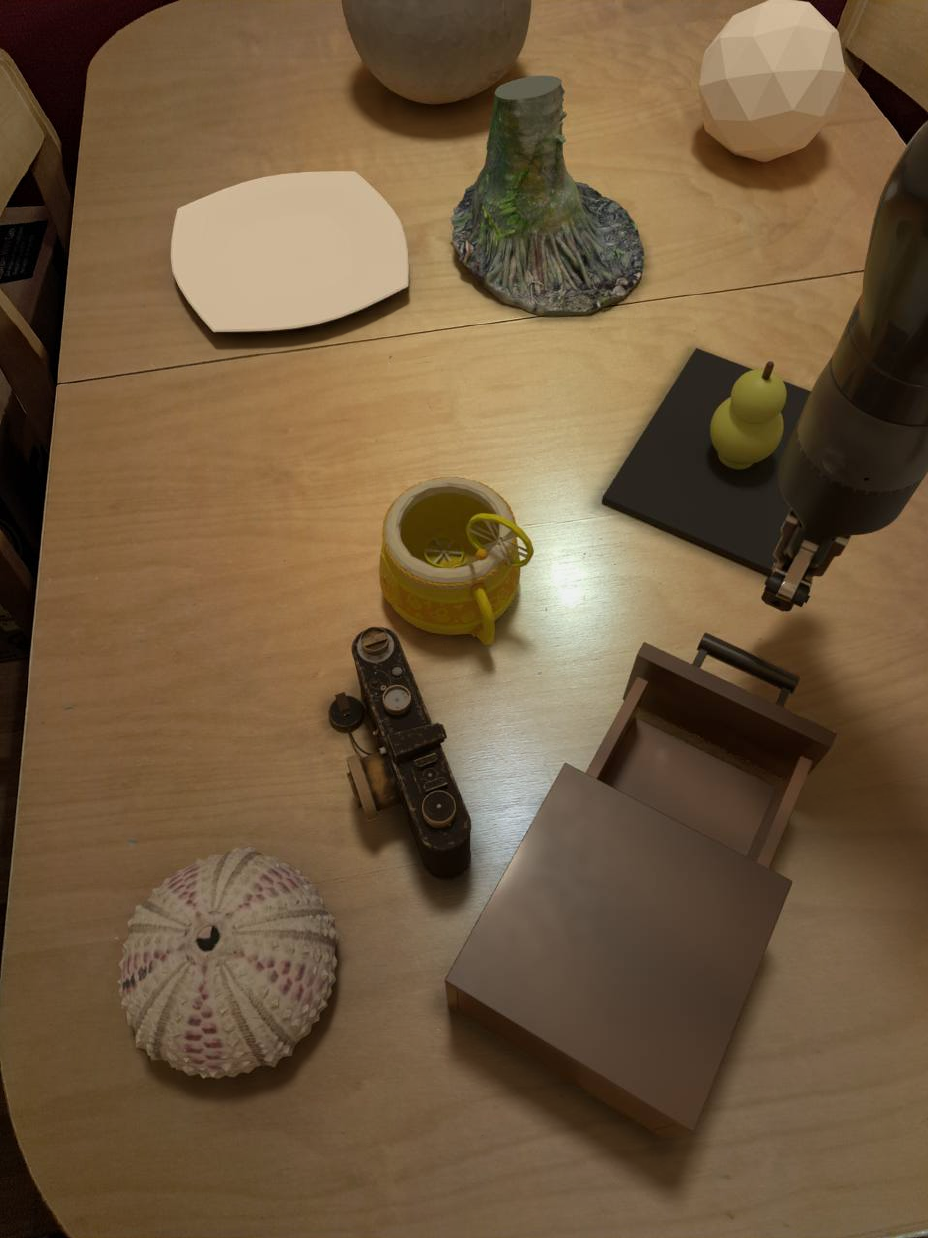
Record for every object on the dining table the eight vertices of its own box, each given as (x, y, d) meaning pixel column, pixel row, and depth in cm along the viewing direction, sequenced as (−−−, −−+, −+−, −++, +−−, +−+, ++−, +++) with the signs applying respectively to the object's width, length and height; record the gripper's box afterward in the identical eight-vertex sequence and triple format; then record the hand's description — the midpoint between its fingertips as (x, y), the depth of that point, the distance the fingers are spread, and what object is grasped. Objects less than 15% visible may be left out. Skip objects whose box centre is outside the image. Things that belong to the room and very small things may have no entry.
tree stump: (531, 352, 88) (503, 159, 75) (425, 277, 101) (385, 101, 87) (683, 271, 92) (682, 75, 79) (563, 209, 105) (545, 31, 91)
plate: (199, 367, 86) (194, 351, 85) (157, 216, 98) (152, 199, 96) (437, 311, 90) (436, 294, 89) (370, 171, 101) (369, 153, 100)
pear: (780, 445, 80) (820, 352, 71) (756, 491, 78) (794, 401, 69) (717, 420, 82) (749, 325, 73) (691, 464, 79) (720, 372, 70)
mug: (360, 557, 76) (344, 460, 65) (483, 512, 78) (486, 411, 68) (422, 687, 70) (415, 602, 59) (554, 634, 72) (568, 544, 62)
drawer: (652, 643, 70) (669, 595, 65) (824, 724, 67) (858, 681, 61) (544, 844, 63) (551, 809, 57) (732, 947, 59) (761, 922, 53)
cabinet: (553, 809, 65) (565, 762, 57) (753, 916, 61) (793, 880, 54) (447, 1005, 58) (444, 980, 51) (663, 1138, 55) (693, 1133, 47)
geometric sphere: (717, 169, 110) (723, 20, 104) (852, 157, 102) (867, -5, 97) (674, 166, 99) (678, -1, 93) (822, 152, 91) (836, -31, 85)
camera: (318, 692, 69) (302, 639, 63) (403, 664, 71) (396, 608, 64) (389, 903, 62) (379, 869, 55) (484, 867, 63) (486, 829, 56)
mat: (862, 417, 83) (865, 411, 82) (783, 582, 74) (786, 576, 74) (694, 353, 87) (696, 347, 87) (601, 502, 78) (602, 496, 78)
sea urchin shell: (280, 1123, 55) (254, 1116, 48) (87, 1027, 58) (35, 1007, 51) (378, 911, 61) (366, 877, 54) (199, 833, 64) (166, 791, 57)
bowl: (562, 79, 110) (575, -66, 97) (447, 160, 102) (445, 14, 89) (431, 19, 117) (427, -124, 104) (315, 90, 109) (294, -55, 96)
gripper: (898, 547, 48) (795, 695, 63) (966, 384, 54) (857, 554, 69) (760, 489, 50) (692, 646, 65) (840, 338, 56) (761, 513, 71)
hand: (777, 598), depth 67 cm, fingers closed
